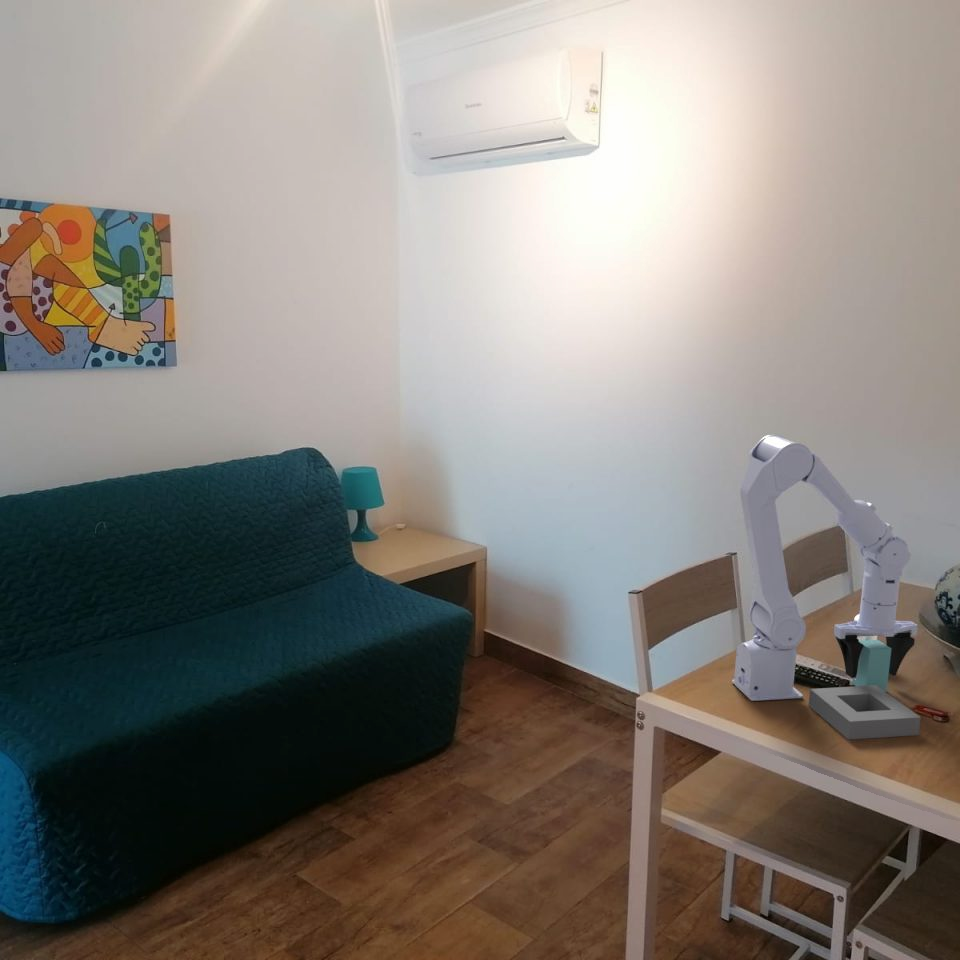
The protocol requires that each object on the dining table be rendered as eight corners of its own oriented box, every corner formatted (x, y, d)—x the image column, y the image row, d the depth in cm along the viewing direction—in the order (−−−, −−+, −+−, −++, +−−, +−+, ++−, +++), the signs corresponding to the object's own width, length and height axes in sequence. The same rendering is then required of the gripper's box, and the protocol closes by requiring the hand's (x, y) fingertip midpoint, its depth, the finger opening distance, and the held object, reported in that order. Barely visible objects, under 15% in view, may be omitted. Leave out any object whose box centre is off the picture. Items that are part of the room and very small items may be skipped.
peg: (865, 693, 160) (870, 649, 159) (852, 683, 164) (857, 640, 163) (886, 691, 161) (891, 648, 159) (873, 682, 165) (878, 639, 163)
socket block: (847, 739, 143) (849, 721, 143) (808, 705, 155) (810, 688, 154) (918, 734, 145) (920, 717, 145) (874, 701, 157) (876, 685, 156)
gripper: (853, 609, 154) (845, 686, 157) (932, 606, 157) (922, 681, 159) (830, 596, 161) (823, 669, 164) (906, 593, 164) (898, 665, 166)
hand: (870, 674), depth 162 cm, fingers open, 7 cm apart
